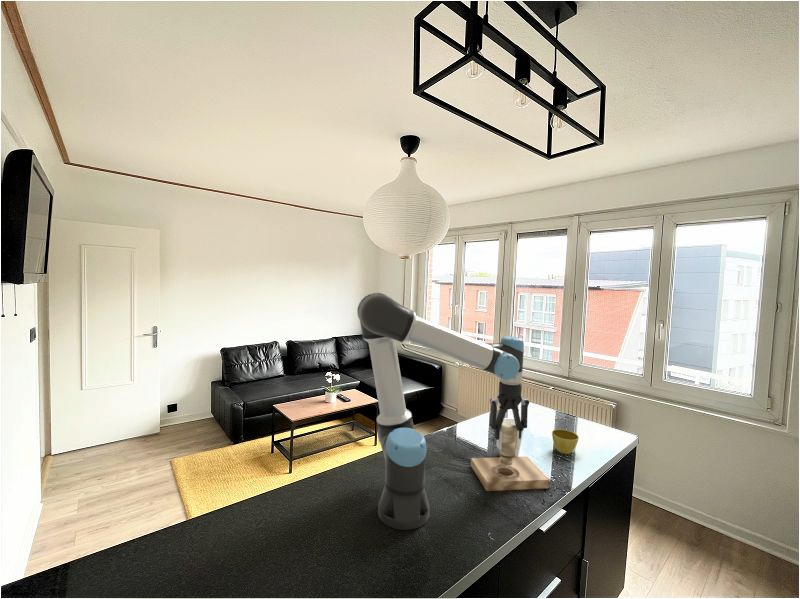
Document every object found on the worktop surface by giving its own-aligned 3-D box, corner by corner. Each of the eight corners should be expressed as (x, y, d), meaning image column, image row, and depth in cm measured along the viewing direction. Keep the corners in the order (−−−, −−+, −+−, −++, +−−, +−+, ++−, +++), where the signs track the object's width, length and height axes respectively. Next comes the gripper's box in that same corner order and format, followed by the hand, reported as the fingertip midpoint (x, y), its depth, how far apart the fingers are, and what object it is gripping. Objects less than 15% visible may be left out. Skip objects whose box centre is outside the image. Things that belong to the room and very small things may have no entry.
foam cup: (523, 461, 143) (525, 428, 142) (498, 458, 144) (500, 425, 144) (520, 450, 152) (522, 419, 151) (497, 447, 154) (499, 416, 153)
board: (486, 491, 122) (486, 482, 122) (470, 466, 138) (471, 458, 137) (548, 488, 125) (549, 479, 125) (526, 464, 141) (526, 456, 140)
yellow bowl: (580, 458, 147) (582, 441, 146) (554, 455, 148) (555, 438, 148) (573, 447, 157) (574, 430, 156) (548, 444, 158) (549, 428, 158)
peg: (502, 466, 126) (503, 429, 125) (495, 458, 131) (497, 423, 130) (517, 466, 126) (519, 429, 125) (510, 458, 132) (512, 422, 131)
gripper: (488, 385, 122) (485, 453, 123) (541, 385, 124) (537, 451, 126) (480, 379, 129) (478, 443, 131) (530, 378, 132) (526, 442, 133)
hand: (507, 447), depth 128 cm, fingers closed on peg, 5 cm apart
